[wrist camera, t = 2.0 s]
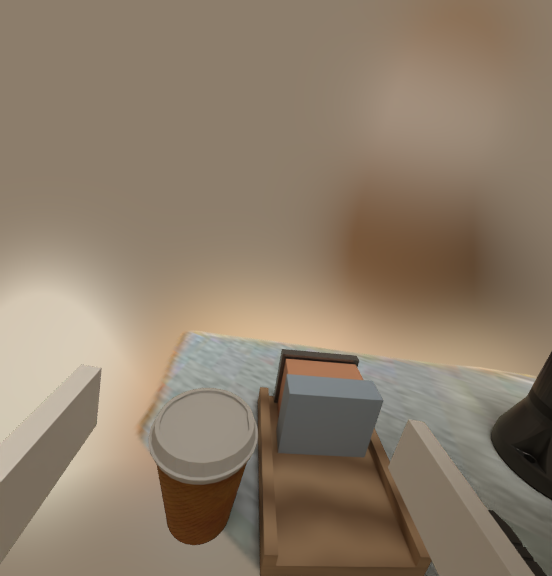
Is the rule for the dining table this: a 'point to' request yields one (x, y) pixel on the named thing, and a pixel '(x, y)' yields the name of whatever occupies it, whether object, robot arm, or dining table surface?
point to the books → (325, 409)
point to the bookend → (310, 357)
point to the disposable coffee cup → (201, 459)
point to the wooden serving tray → (331, 511)
